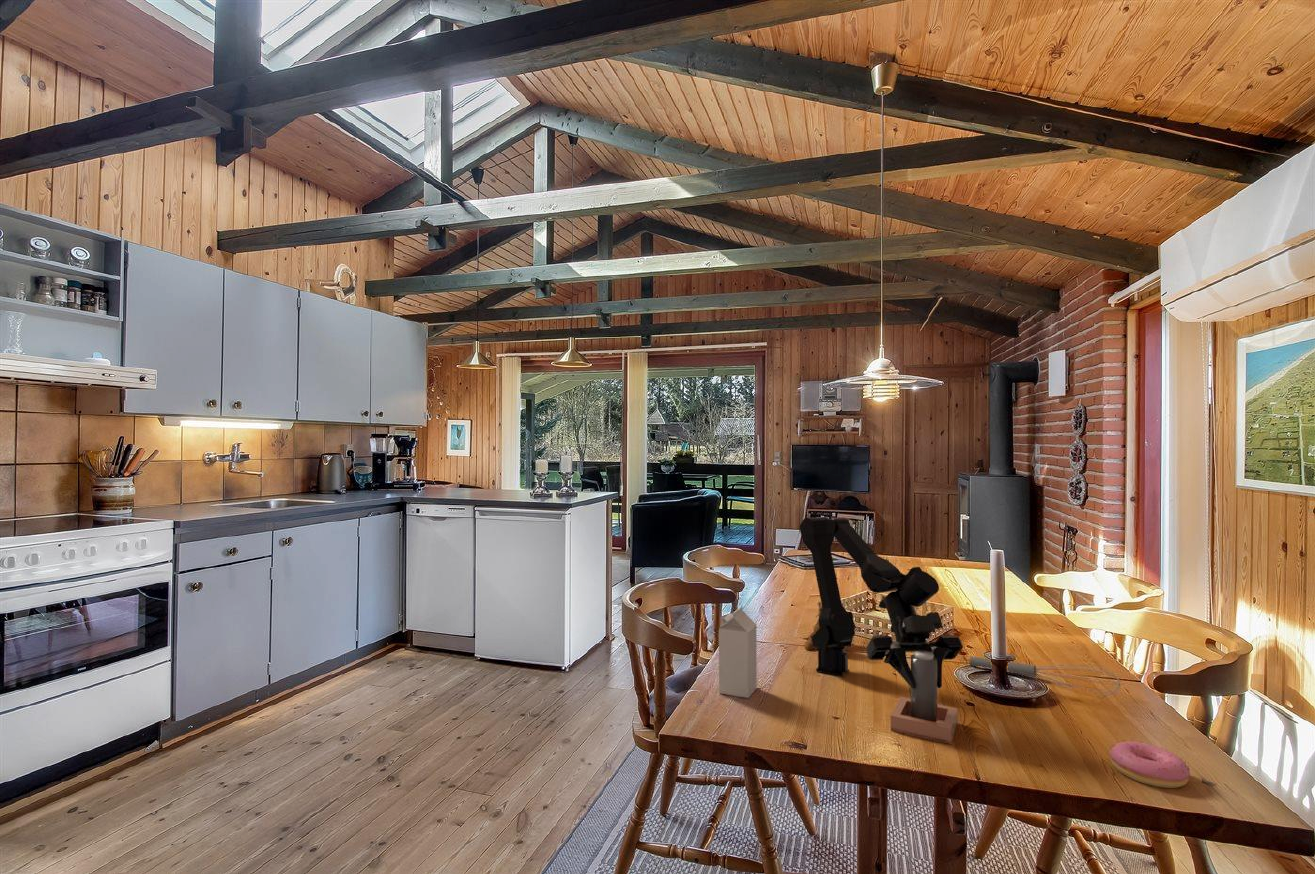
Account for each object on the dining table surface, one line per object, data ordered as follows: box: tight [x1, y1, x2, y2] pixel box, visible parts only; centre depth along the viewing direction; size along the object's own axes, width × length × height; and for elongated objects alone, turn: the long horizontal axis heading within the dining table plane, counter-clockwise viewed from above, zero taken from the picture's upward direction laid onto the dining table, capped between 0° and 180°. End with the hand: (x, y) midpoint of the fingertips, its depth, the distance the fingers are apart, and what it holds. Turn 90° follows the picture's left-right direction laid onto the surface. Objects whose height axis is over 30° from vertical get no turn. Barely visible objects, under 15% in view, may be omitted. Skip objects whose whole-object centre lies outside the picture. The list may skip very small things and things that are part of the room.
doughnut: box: [1108, 740, 1191, 789], centre depth 106 cm, size 11×11×4 cm
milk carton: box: [718, 605, 758, 699], centre depth 143 cm, size 7×7×19 cm
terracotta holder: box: [890, 696, 958, 745], centre depth 124 cm, size 11×11×3 cm
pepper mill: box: [910, 650, 938, 722], centre depth 124 cm, size 5×5×13 cm
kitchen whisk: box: [961, 655, 1122, 697], centre depth 150 cm, size 6×34×6 cm, turn 48°
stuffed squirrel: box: [804, 601, 822, 651], centre depth 175 cm, size 10×14×13 cm
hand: (927, 687), depth 123 cm, fingers closed on pepper mill, 5 cm apart
